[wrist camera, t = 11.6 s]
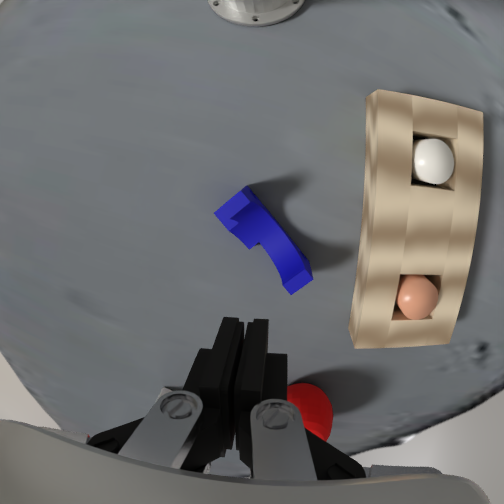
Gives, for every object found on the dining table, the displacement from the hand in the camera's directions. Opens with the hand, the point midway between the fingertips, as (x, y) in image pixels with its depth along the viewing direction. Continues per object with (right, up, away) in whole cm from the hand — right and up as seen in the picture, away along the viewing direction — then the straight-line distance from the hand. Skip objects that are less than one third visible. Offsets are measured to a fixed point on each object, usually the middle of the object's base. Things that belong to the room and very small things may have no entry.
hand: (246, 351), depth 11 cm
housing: (+20, +7, +24) cm, 33 cm away
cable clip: (+2, +6, +27) cm, 28 cm away
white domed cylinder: (+21, +15, +21) cm, 33 cm away
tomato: (+7, -19, +34) cm, 39 cm away
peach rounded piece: (+20, -1, +26) cm, 33 cm away
